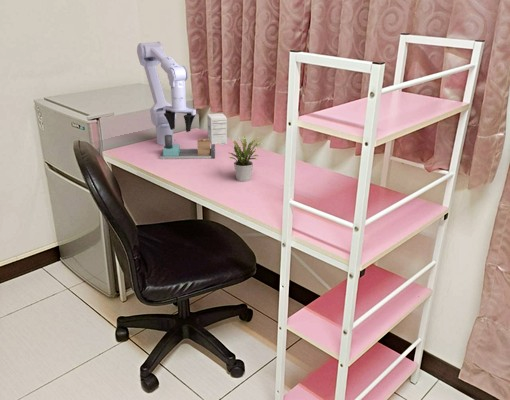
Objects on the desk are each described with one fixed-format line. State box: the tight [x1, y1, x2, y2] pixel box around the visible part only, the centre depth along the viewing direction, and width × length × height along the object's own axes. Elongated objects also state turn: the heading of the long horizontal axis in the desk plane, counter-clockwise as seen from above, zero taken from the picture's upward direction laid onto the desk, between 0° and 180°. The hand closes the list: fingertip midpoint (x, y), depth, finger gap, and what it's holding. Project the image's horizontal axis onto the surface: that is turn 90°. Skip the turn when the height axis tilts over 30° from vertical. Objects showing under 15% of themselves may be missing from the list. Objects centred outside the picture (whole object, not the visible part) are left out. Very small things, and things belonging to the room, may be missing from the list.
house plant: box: [228, 135, 264, 182], centre depth 183 cm, size 14×14×16 cm
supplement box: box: [206, 112, 228, 146], centre depth 223 cm, size 7×7×13 cm
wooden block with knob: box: [197, 138, 211, 156], centre depth 206 cm, size 5×5×6 cm
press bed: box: [159, 143, 216, 160], centre depth 206 cm, size 10×22×4 cm, turn 94°
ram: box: [162, 135, 181, 156], centre depth 205 cm, size 8×6×8 cm
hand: (180, 130), depth 206 cm, fingers open, 7 cm apart
